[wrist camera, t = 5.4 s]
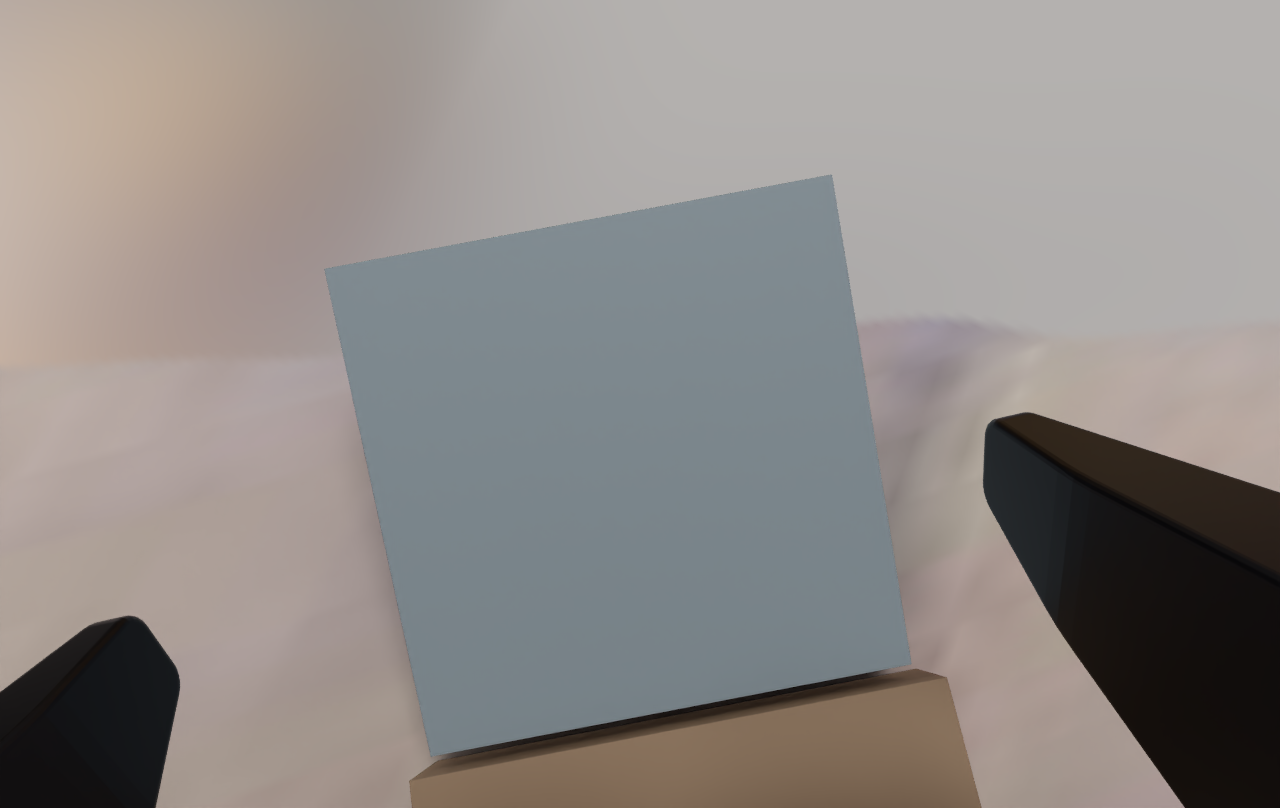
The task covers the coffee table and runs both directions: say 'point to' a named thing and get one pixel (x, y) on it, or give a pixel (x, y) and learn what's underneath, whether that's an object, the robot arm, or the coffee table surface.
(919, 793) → the block
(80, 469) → the coffee table surface
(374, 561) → the coffee table surface
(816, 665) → the panel
